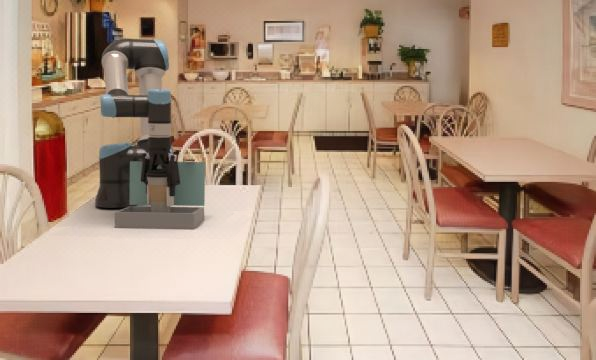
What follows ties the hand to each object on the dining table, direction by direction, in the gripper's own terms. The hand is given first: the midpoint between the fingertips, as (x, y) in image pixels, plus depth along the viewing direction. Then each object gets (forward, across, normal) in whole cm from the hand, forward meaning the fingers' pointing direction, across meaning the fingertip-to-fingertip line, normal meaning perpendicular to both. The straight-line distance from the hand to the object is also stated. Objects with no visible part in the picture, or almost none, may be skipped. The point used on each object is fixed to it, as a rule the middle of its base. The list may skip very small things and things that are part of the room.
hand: (160, 204), depth 207 cm
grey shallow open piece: (+7, +1, -1) cm, 7 cm away
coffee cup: (+4, 0, 0) cm, 4 cm away
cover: (+1, -3, +6) cm, 7 cm away
